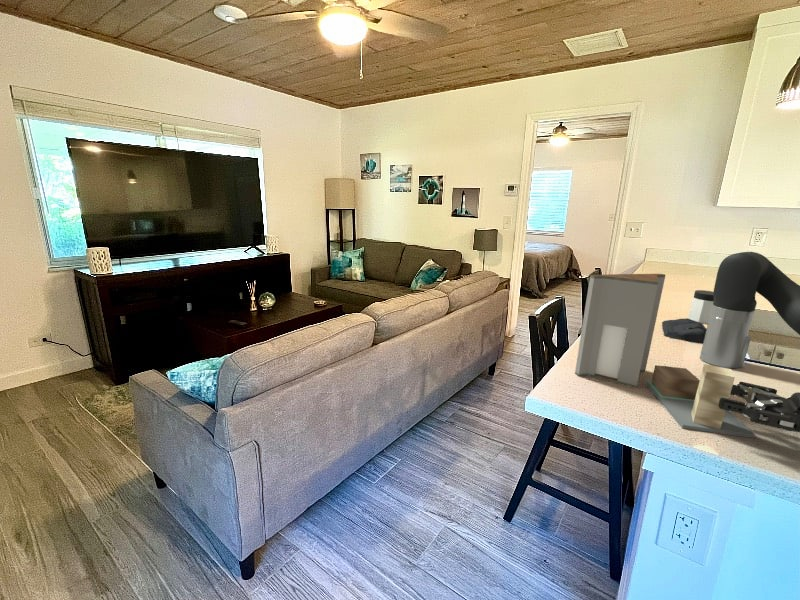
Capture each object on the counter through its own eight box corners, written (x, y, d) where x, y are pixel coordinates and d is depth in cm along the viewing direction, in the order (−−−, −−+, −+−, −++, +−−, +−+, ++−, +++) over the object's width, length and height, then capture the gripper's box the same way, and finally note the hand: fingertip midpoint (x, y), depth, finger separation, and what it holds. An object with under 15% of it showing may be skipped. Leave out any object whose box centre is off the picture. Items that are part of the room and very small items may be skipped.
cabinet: (640, 369, 107) (660, 273, 100) (669, 385, 98) (693, 281, 90) (574, 373, 103) (590, 274, 96) (598, 391, 94) (617, 283, 87)
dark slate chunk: (707, 329, 143) (710, 317, 142) (718, 348, 125) (722, 334, 124) (659, 322, 151) (662, 311, 149) (663, 338, 132) (666, 326, 131)
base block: (681, 386, 96) (686, 368, 94) (695, 400, 89) (700, 381, 88) (651, 382, 97) (655, 365, 96) (662, 396, 91) (667, 377, 89)
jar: (720, 324, 148) (727, 294, 145) (703, 325, 146) (710, 295, 143) (698, 317, 157) (704, 289, 153) (682, 318, 155) (688, 290, 152)
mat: (701, 390, 95) (702, 387, 95) (754, 437, 76) (755, 434, 76) (645, 383, 98) (645, 381, 98) (682, 428, 79) (683, 424, 79)
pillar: (717, 419, 81) (731, 369, 78) (720, 429, 78) (734, 377, 75) (691, 412, 84) (703, 363, 81) (693, 422, 80) (706, 371, 77)
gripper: (835, 456, 65) (716, 425, 74) (808, 418, 77) (707, 395, 85) (849, 418, 63) (725, 391, 72) (819, 385, 75) (715, 365, 83)
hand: (716, 393), depth 78 cm, fingers open, 8 cm apart
